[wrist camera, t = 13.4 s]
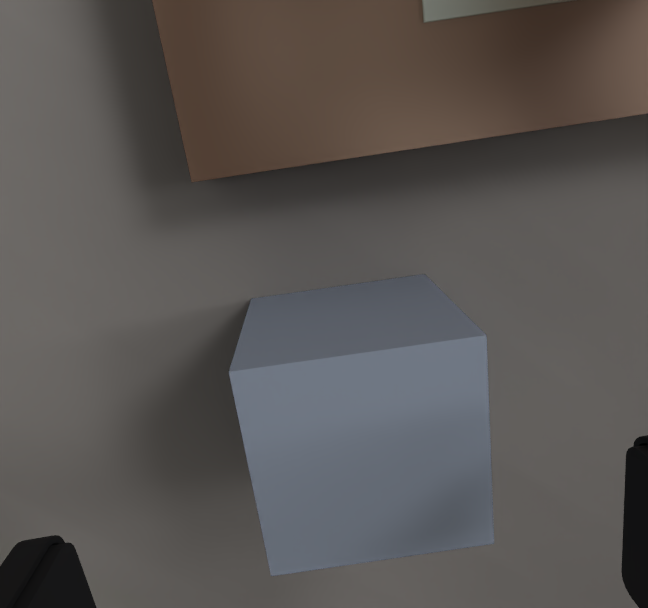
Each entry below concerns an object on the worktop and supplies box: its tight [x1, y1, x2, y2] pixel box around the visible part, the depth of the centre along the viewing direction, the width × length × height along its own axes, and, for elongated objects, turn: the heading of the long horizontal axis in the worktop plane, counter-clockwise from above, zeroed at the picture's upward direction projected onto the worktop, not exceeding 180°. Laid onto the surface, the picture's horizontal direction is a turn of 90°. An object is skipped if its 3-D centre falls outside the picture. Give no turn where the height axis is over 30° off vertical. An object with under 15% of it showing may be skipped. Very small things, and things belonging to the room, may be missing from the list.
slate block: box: [229, 274, 494, 576], centre depth 13 cm, size 5×5×5 cm
